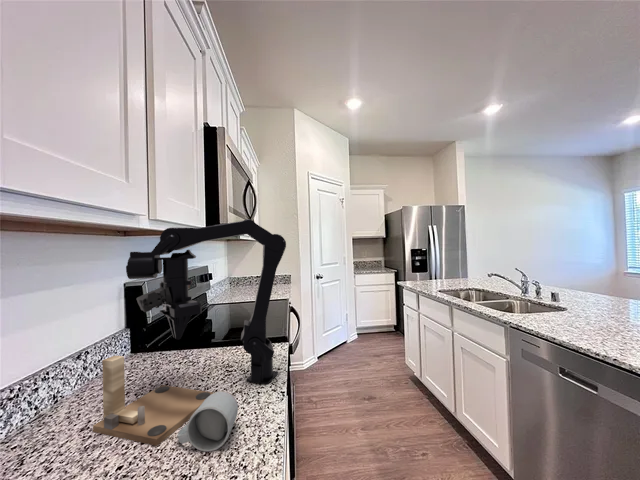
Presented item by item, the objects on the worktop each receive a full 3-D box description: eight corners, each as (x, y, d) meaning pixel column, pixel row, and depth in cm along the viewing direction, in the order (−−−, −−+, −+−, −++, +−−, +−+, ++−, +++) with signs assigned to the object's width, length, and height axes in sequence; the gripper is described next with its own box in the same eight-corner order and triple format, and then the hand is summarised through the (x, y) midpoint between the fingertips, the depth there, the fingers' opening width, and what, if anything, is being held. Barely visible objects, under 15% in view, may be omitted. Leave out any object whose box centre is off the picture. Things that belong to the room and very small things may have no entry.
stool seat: (162, 389, 74) (162, 372, 74) (215, 397, 69) (215, 379, 69) (93, 431, 58) (92, 409, 58) (156, 446, 53) (156, 421, 53)
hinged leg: (142, 417, 60) (141, 358, 60) (131, 424, 57) (130, 363, 57) (115, 412, 62) (114, 355, 62) (103, 419, 59) (102, 360, 59)
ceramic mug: (240, 422, 60) (239, 384, 60) (230, 450, 51) (228, 407, 51) (188, 426, 59) (186, 388, 59) (168, 455, 51) (167, 411, 51)
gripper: (131, 277, 75) (132, 338, 75) (149, 283, 62) (150, 357, 62) (176, 273, 83) (178, 328, 83) (202, 278, 69) (203, 344, 69)
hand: (177, 338), depth 74 cm, fingers closed
